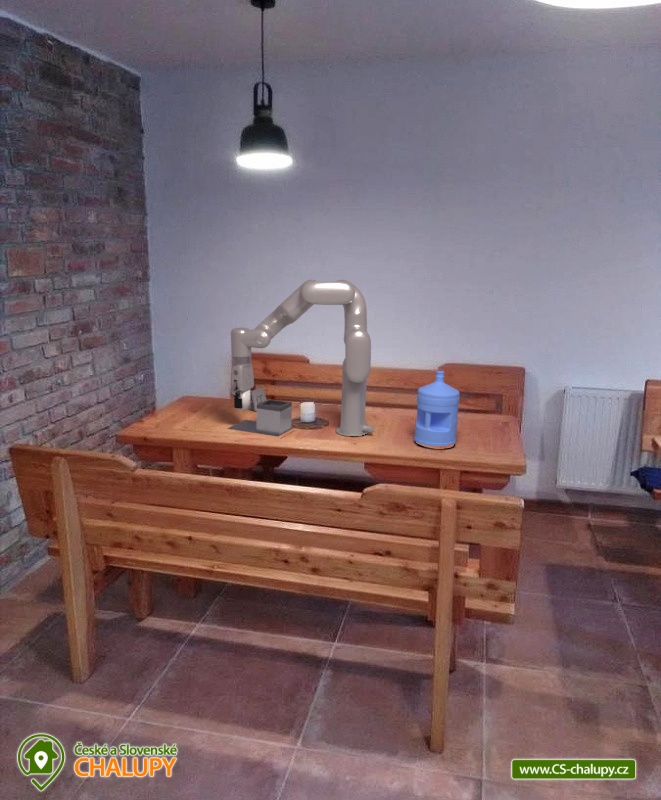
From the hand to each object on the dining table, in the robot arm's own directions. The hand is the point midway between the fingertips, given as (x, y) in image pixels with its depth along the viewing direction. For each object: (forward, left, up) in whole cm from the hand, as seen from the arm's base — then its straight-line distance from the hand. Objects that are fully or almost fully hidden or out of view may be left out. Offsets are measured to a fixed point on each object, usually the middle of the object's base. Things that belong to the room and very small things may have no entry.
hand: (242, 405), depth 252 cm
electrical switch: (+11, -33, -10) cm, 36 cm away
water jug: (-72, -20, -10) cm, 75 cm away
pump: (0, 0, -1) cm, 1 cm away
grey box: (-7, -3, -10) cm, 12 cm away
